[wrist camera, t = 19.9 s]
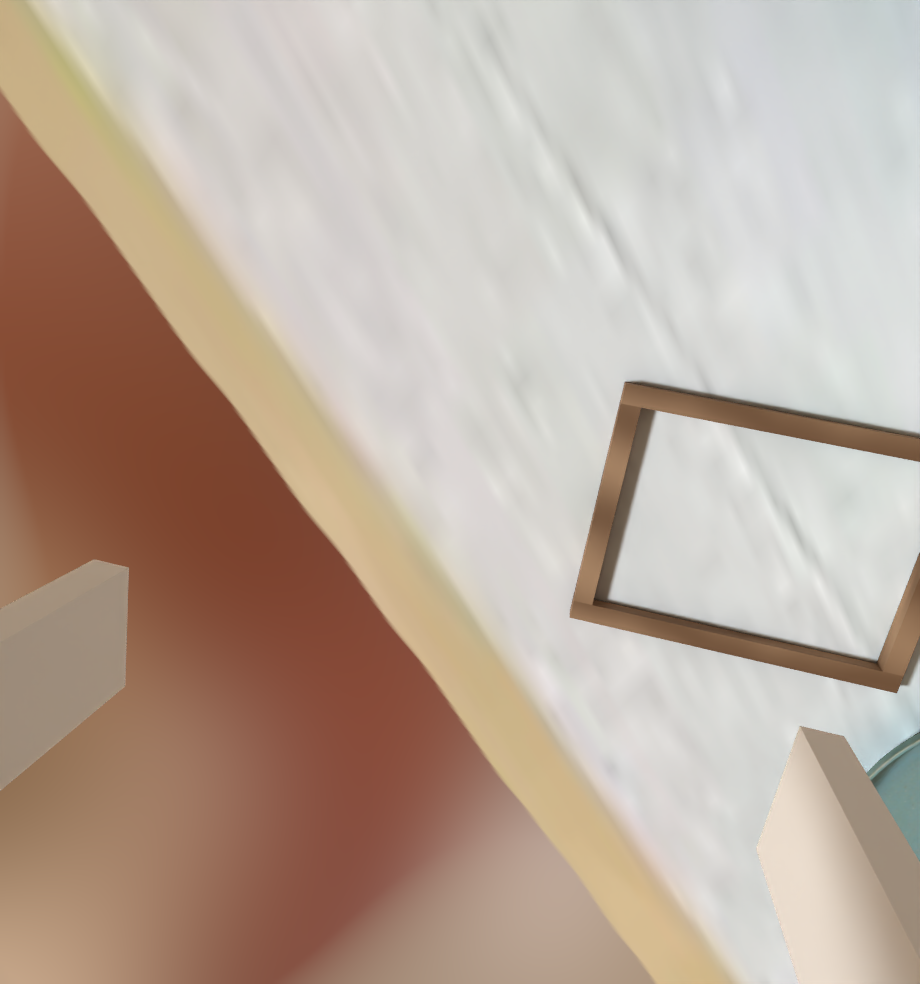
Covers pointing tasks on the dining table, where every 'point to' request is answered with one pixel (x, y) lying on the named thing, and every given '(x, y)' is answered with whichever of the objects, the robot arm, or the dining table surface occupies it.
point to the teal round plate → (901, 788)
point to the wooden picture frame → (910, 622)
